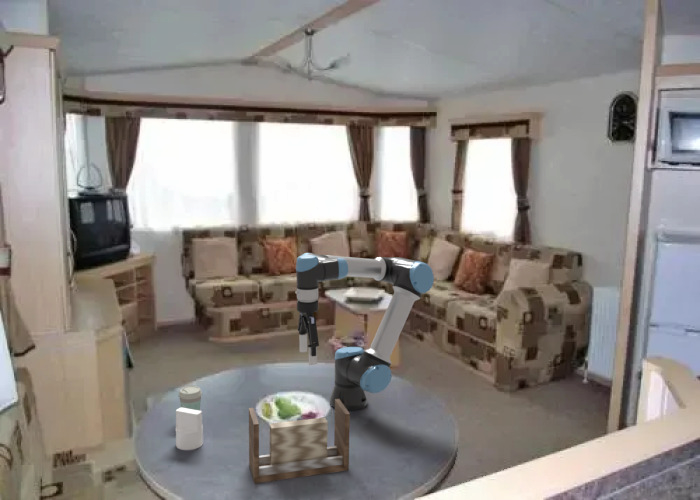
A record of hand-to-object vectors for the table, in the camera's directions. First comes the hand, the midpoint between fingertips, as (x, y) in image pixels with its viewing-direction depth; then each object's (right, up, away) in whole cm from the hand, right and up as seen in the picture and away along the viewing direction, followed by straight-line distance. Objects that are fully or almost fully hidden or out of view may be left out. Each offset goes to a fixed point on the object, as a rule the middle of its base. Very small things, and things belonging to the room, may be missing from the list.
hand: (308, 358), depth 206 cm
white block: (-40, -29, -6) cm, 50 cm away
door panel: (-2, -30, -20) cm, 36 cm away
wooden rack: (-2, -31, -20) cm, 37 cm away
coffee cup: (-45, -26, +12) cm, 53 cm away
